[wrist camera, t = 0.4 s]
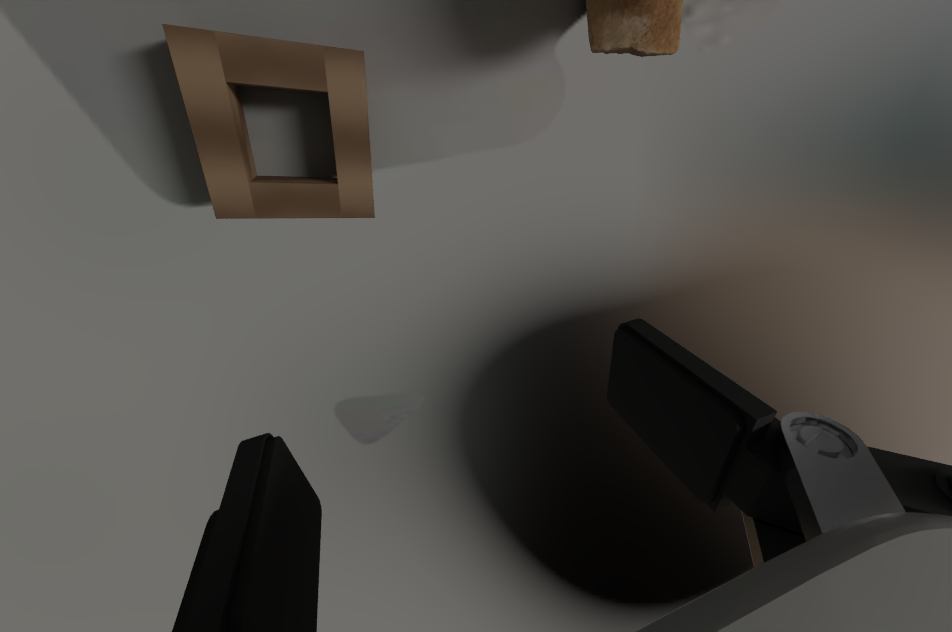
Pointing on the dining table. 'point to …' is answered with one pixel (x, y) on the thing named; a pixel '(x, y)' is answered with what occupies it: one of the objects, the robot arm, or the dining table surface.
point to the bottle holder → (225, 132)
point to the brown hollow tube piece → (634, 26)
